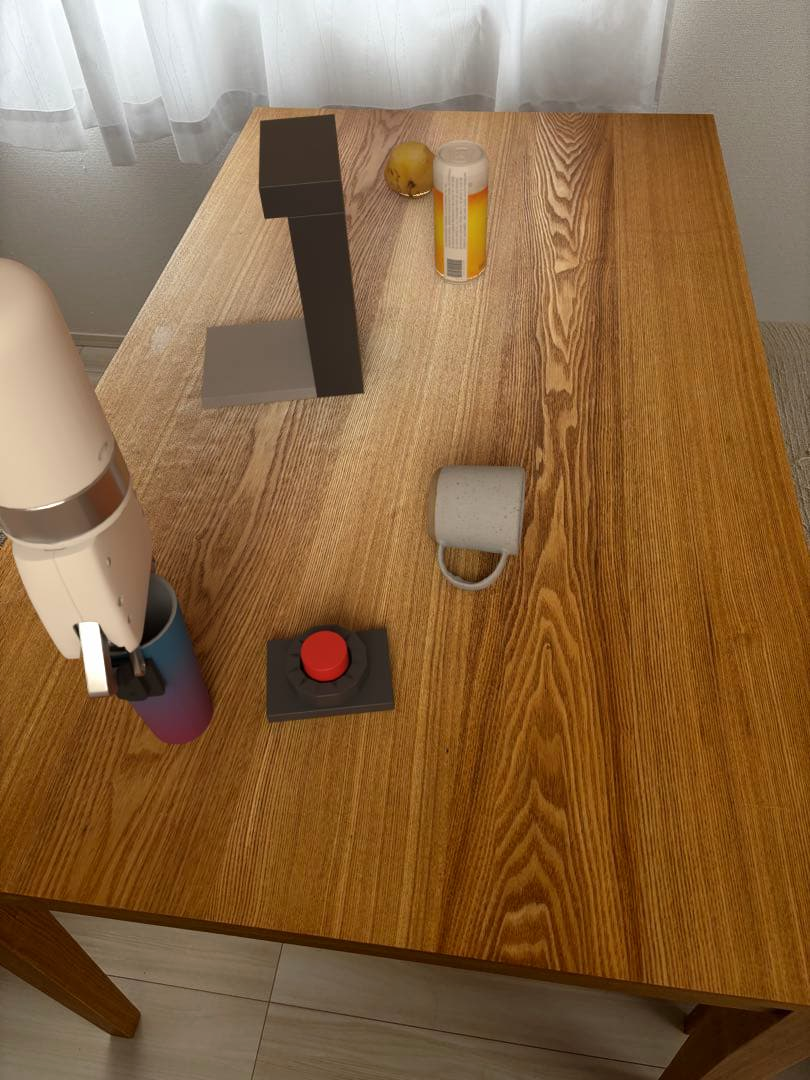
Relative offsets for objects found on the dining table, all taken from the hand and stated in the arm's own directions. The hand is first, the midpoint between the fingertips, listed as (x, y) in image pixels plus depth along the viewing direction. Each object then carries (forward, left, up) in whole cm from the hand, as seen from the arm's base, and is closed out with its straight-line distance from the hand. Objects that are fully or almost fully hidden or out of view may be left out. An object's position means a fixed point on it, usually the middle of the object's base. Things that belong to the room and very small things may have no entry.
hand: (146, 650), depth 61 cm
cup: (0, 0, -10) cm, 10 cm away
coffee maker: (+8, +42, -10) cm, 44 cm away
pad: (+12, +2, -10) cm, 16 cm away
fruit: (+26, +75, -10) cm, 80 cm away
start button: (+12, +2, -7) cm, 14 cm away
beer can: (+30, +56, -10) cm, 64 cm away
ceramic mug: (+26, +14, -10) cm, 31 cm away
